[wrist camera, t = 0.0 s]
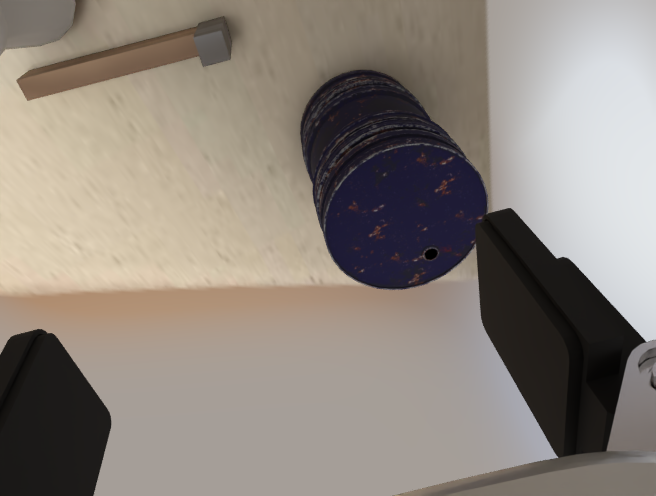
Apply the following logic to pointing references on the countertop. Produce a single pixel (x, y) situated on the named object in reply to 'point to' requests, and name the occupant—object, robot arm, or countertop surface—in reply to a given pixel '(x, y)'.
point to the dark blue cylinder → (388, 183)
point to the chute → (131, 59)
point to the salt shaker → (34, 22)
